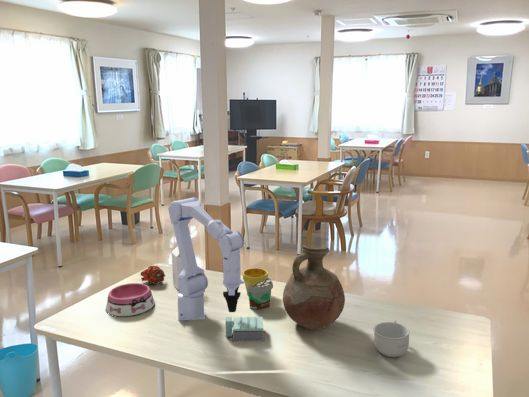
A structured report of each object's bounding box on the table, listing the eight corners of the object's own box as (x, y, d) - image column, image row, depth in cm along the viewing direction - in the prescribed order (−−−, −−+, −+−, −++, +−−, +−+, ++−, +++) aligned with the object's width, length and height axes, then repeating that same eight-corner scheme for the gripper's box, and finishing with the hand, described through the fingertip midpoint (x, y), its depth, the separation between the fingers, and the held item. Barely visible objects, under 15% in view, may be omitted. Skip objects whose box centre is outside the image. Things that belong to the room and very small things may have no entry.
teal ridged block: (225, 340, 148) (225, 325, 147) (226, 328, 156) (226, 313, 155) (263, 339, 149) (263, 324, 148) (262, 327, 157) (262, 313, 155)
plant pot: (267, 300, 181) (267, 277, 179) (242, 300, 181) (241, 277, 179) (268, 289, 191) (268, 267, 189) (243, 289, 191) (243, 267, 189)
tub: (233, 343, 149) (232, 332, 148) (233, 331, 157) (233, 320, 156) (263, 342, 149) (263, 331, 148) (262, 330, 157) (262, 319, 156)
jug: (355, 324, 161) (358, 244, 155) (319, 348, 145) (321, 260, 139) (307, 306, 175) (308, 232, 169) (269, 326, 160) (270, 245, 154)
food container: (260, 315, 168) (260, 290, 166) (247, 311, 172) (247, 286, 169) (279, 303, 177) (279, 280, 175) (266, 299, 181) (266, 276, 179)
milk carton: (177, 290, 190) (175, 247, 186) (173, 284, 196) (171, 243, 192) (194, 287, 193) (192, 245, 189) (188, 281, 200) (187, 240, 196)
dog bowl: (116, 322, 163) (114, 305, 162) (98, 305, 177) (97, 288, 176) (163, 308, 174) (162, 292, 173) (143, 293, 189) (142, 277, 187)
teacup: (402, 365, 136) (404, 341, 134) (367, 355, 142) (369, 331, 140) (414, 344, 148) (416, 322, 146) (381, 335, 153) (383, 314, 151)
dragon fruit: (165, 289, 195) (142, 289, 200) (172, 272, 201) (150, 272, 206) (155, 278, 190) (132, 278, 195) (162, 261, 195) (140, 262, 200)
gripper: (244, 276, 142) (244, 316, 145) (243, 260, 156) (244, 297, 159) (221, 276, 142) (222, 316, 145) (223, 261, 156) (224, 297, 159)
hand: (232, 306), depth 152 cm, fingers open, 7 cm apart
